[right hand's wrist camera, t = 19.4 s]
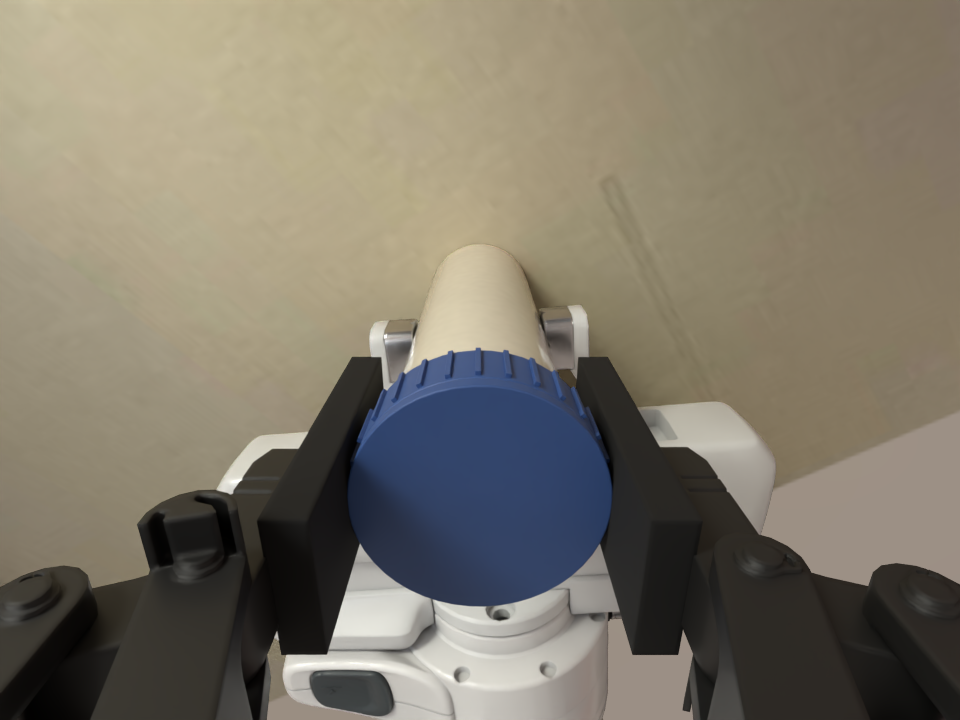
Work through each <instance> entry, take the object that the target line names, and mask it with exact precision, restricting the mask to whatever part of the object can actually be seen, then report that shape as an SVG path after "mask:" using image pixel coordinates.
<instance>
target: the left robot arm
mask: <svg viewBox="0 0 960 720" xmlns="http://www.w3.org/2000/svg"><path fill="white" fill-rule="evenodd" d="M539 318H540V321H541V324H542V327H543V330H544V333H545V336H546V339H547V342H548V345H549V348H550V351H551V354H552V357H553V360H554V363H555V366H556V369H557V370H560V369H570V371H571V372H572V374H573V375H574V377H575V378H576V379H577V367H578V357H589V324H588V318H587V314H586V312H585V310H584V309H583V307H582V305H573V306H560V307H550V308H540V310H539ZM417 326H418V321H417V319H405V320H390V321H389V320H385V321H378V322H375V323H374V325H373V327H372V329H371V330H370V351H371V357H381V358H382V372H383V386H384V389H385V390H388V389H389V388H390V387H391V386H392V385H393V384H394V383H395V382H396V381H397V380H398V377H399V374H400V373H402V371H403V368H404V365H405V362H406V359H407V356H408V353H409V350H410V347H411V344H412V341H413V338H414V335H415V332H416V329H417ZM637 408H638V410H639V412H640V414H641V415H642V417H643V419H644V420H645V422H646V424H647V426H648V427H649V429H650V431H651V432H652V434H653V436H654V438H655V439H656V441H657V443H658V444H659V446H660V447H688V448H690V449H691V450H693V451H694V452H696V453H697V454H698V455H700V456H701V457H703V458H704V459H706V460H707V461H708V463H709V464H710V466H711V467H712V468H713V470H714V471H715V473H716V474H717V475H718V479H720V480H721V481H722V483H723V484H724V485H725V487H726V488H727V492H729V493H730V494H731V495H732V497H733V498H734V500H735V501H736V502H737V504H738V505H739V507H740V508H741V510H742V511H743V512H744V514H745V515H746V517H747V518H748V520H749V521H750V522H751V524H752V525H753V527H754V528H755V529H756V531H757V532H758V534H759V535H761V532H762V529H763V525H764V522H765V518H766V515H767V511H768V507H769V503H770V499H771V495H772V491H773V486H774V482H775V475H776V461H775V458H774V455H773V453H772V451H771V449H770V448H769V446H768V445H767V444H766V442H765V441H764V440H763V438H762V437H761V436H760V435H759V434H758V432H757V431H756V430H755V429H754V428H753V427H752V426H751V425H750V424H749V423H748V422H747V421H746V420H745V419H744V418H743V417H742V416H740V415H739V414H738V413H737V412H736V411H735V410H734V409H732V408H731V407H730V406H729V405H727V404H725V403H723V402H699V403H686V404H673V405H660V406H647V407H637ZM307 433H308V432H300V433H286V434H270V435H263V436H259V437H257V438H255V439H254V440H252V441H251V442H250V443H249V444H248V446H247V447H246V448H245V449H244V450H243V451H242V453H241V454H240V455H239V456H238V457H237V459H236V460H235V461H234V462H233V464H232V465H231V466H230V468H229V469H228V471H227V472H226V474H225V475H224V477H223V479H222V480H221V482H220V484H219V486H218V488H217V491H222V492H226V493H229V494H233V490H234V489H235V487H236V486H237V484H238V483H239V482H240V481H242V477H243V476H244V474H245V473H246V472H247V470H248V469H249V467H250V466H251V464H252V463H253V462H254V461H255V460H257V459H258V458H260V457H261V456H263V455H264V454H265V453H267V452H268V451H270V450H271V449H299V447H300V445H301V444H302V442H303V440H304V439H305V437H306V435H307ZM610 619H622V617H621V614H620V610H619V607H618V604H617V600H616V597H615V593H614V590H613V587H612V583H611V580H610V577H609V573H608V570H607V566H606V563H605V560H604V556H603V553H602V549H601V546H600V544H599V546H598V547H597V549H596V550H595V552H594V553H593V555H592V556H591V557H590V558H589V559H588V561H587V562H586V563H585V564H584V565H583V566H582V567H581V568H580V569H579V570H578V571H577V572H576V573H575V574H573V575H572V576H571V577H570V578H568V579H567V580H565V581H564V582H563V583H561V584H560V585H558V586H556V587H554V588H552V589H551V590H549V591H547V592H545V593H542V594H540V595H538V596H535V597H533V598H530V599H526V600H523V601H520V602H516V603H511V604H505V605H498V606H486V607H479V606H462V605H454V604H449V603H444V602H440V601H436V600H433V599H430V598H427V597H424V596H422V595H420V594H417V593H415V592H413V591H411V590H409V589H407V588H405V587H404V586H402V585H400V584H399V583H397V582H395V581H394V580H393V579H392V578H390V577H389V576H388V575H386V574H385V573H384V572H383V571H382V570H381V569H380V568H379V567H378V566H377V565H376V564H375V563H374V562H373V561H372V560H371V559H370V557H369V556H368V555H367V554H366V552H365V551H364V549H363V548H362V546H361V544H360V545H359V548H358V552H357V555H356V558H355V562H354V565H353V569H352V572H351V575H350V579H349V582H348V586H347V589H346V592H345V596H344V599H343V602H342V606H341V609H340V613H339V616H338V619H337V623H336V626H335V630H334V633H333V636H332V640H331V643H330V646H329V650H328V653H327V655H286V660H285V664H284V669H283V681H284V685H285V688H286V690H287V692H288V694H289V695H290V697H291V698H293V699H294V700H295V701H297V702H299V703H302V704H305V705H309V706H314V707H320V708H326V709H332V710H338V711H343V712H349V713H354V714H359V715H363V716H368V717H372V718H375V719H379V720H603V718H602V717H603V714H604V711H605V705H606V699H607V692H608V621H609V620H610ZM274 638H275V639H277V640H278V641H279V639H278V633H277V632H276V635H275V637H274Z"/></svg>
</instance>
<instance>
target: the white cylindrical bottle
mask: <svg viewBox="0 0 960 720" xmlns="http://www.w3.org/2000/svg"><path fill="white" fill-rule="evenodd" d="M476 348H481V350H487V351H497V352H503V350H508V351H509V354H513V355H517V356H520V357H523V358H526V359H528V360H529V359H530V357H531V358H534V359H535V361H536V363H538V364H539V365H541V366H543V367H545V368H546V369H548V370H550V371H551V372H553V370H555V371H557V369H556V366H555V363H554V360H553V357H552V354H551V351H550V348H549V345H548V342H547V339H546V336H545V333H544V330H543V327H542V324H541V321H540V318H539V315H538V312H537V309H536V306H535V303H534V300H533V297H532V294H531V291H530V288H529V285H528V282H527V279H526V276H525V274H524V271H523V269H522V268H521V266H520V265H519V263H518V262H517V261H516V260H515V259H514V258H513V257H512V256H511V255H510V254H509V253H507V252H506V251H504V250H502V249H500V248H498V247H495V246H491V245H485V244H474V245H469V246H465V247H462V248H460V249H457V250H456V251H454V252H452V253H451V254H450V255H448V256H447V257H446V258H445V259H444V260H443V261H442V263H441V264H440V265H439V267H438V269H437V270H436V273H435V275H434V278H433V281H432V284H431V287H430V290H429V293H428V296H427V299H426V302H425V305H424V308H423V311H422V314H421V317H420V320H419V323H418V326H417V329H416V332H415V335H414V338H413V341H412V344H411V347H410V350H409V353H408V356H407V359H406V362H405V365H404V368H403V371H402V372H404V373H405V374H406V373H407V372H409V371H410V370H412V369H413V368H415V367H417V366H419V365H421V362H422V360H424V359H427V360H428V361H429V360H431V359H434V358H437V357H440V356H442V355H447V354H448V351H451V350H453V352H454V353H456V352H462V351H472V350H476Z"/></svg>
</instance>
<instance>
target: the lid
mask: <svg viewBox="0 0 960 720" xmlns="http://www.w3.org/2000/svg"><path fill="white" fill-rule="evenodd" d="M357 442H358V443H357V445H356V448H355V450H354V453H353V455H352V458H351V460H350V466H351V470H350V474H349V478H348V485H347V499H348V509H349V516H350V521H351V525H352V527H353V530H354V532H355V535H356V537H357V539H358V541H359V543H360V544H361V546H362V548H363V549H364V551H365V552H366V554H367V555H368V556H369V557H370V559H371V560H372V561H373V562H374V563H375V564H376V565H377V566H378V567H379V568H380V569H381V570H382V571H383V572H384V573H385V574H386V575H388V576H389V577H390V578H392V579H393V580H394V581H395V582H397V583H399V584H400V585H402V586H404V587H405V588H407V589H409V590H411V591H413V592H415V593H417V594H420V595H422V596H424V597H427V598H430V599H433V600H436V601H440V602H444V603H449V604H454V605H462V606H479V607H486V606H498V605H505V604H511V603H516V602H520V601H523V600H526V599H530V598H533V597H535V596H538V595H540V594H542V593H545V592H547V591H549V590H551V589H552V588H554V587H556V586H558V585H560V584H561V583H563V582H564V581H565V580H567V579H568V578H570V577H571V576H572V575H573V574H575V573H576V572H577V571H578V570H579V569H580V568H581V567H582V566H583V565H584V564H585V563H586V562H587V561H588V559H589V558H590V557H591V556H592V555H593V553H594V552H595V550H596V549H597V547H598V546H599V544H600V543H601V540H602V538H603V536H604V534H605V532H606V530H607V526H608V523H609V520H610V514H611V505H612V495H613V485H612V480H611V474H610V470H609V467H608V464H607V463H609V462H610V459H609V456H608V454H607V451H606V449H605V446H604V444H603V441H602V438H601V435H600V433H599V430H598V428H597V425H596V423H595V420H594V418H593V416H592V413H591V411H590V409H589V407H586V408H584V406H583V404H582V402H581V400H580V397H579V394H578V392H577V389H576V388H575V387H572V388H570V387H569V386H568V385H567V384H566V383H565V382H564V381H563V380H562V379H561V378H560V377H559V374H558V372H557V371H555V370H553V372H551V371H550V370H548V369H546V368H545V367H543V366H541V365H539V364H538V363H536V361H535V359H534V358H531V357H530V359H529V360H528V359H526V358H523V357H520V356H517V355H513V354H509V351H508V350H503V352H497V351H487V350H481V348H476V350H472V351H462V352H456V353H454V352H453V350H451V351H448V354H447V355H442V356H440V357H437V358H434V359H431V360H429V361H428V360H427V359H424V360H422V362H421V365H419V366H417V367H415V368H413V369H412V370H410V371H409V372H407V373H406V374H405V373H404V372H402V373H400V374H399V377H398V380H397V381H396V382H395V383H394V384H393V385H392V386H391V387H390V388H389V389H388V390H385V389H383V390H382V392H381V394H380V396H379V399H378V402H377V404H376V407H375V409H374V410H372V409H370V410H369V412H368V414H367V417H366V419H365V422H364V424H363V427H362V429H361V432H360V434H359V437H358V439H357Z"/></svg>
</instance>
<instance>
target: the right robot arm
mask: <svg viewBox="0 0 960 720" xmlns="http://www.w3.org/2000/svg"><path fill="white" fill-rule="evenodd" d="M383 389H384V386H383V372H382V358H381V357H352V358H351V360H350V361H349V363H348V365H347V367H346V368H345V370H344V372H343V373H342V375H341V377H340V379H339V380H338V382H337V384H336V385H335V387H334V389H333V391H332V392H331V394H330V396H329V397H328V399H327V401H326V403H325V404H324V406H323V408H322V409H321V411H320V413H319V415H318V416H317V418H316V420H315V421H314V423H313V425H312V427H311V428H310V430H309V432H308V433H307V435H306V437H305V439H304V440H303V442H302V444H301V445H300V447H299V449H271V450H270V451H268V452H267V453H265V454H264V455H263V456H261V457H260V458H258V459H257V460H255V461H254V462H253V463H252V464H251V466H250V467H249V469H248V470H247V472H246V473H245V474H244V476H243V477H242V481H240V482H239V483H238V484H237V486H236V487H235V489H234V490H233V494H229V493H226V492H222V491H217V490H197V491H193V492H189V493H185V494H180V495H177V496H175V497H173V498H170V499H168V500H166V501H164V502H161V503H160V504H158V505H157V506H155V507H154V508H153V509H151V510H150V511H148V512H147V513H146V514H145V515H144V516H143V518H142V519H141V520H140V521H139V523H138V524H137V526H138V529H139V533H140V536H141V540H142V543H143V547H144V550H145V554H146V557H147V561H148V564H149V568H150V572H149V575H147V576H143V577H140V578H136V579H133V580H128V581H124V582H119V583H115V584H110V585H106V586H101V587H97V588H92V587H91V584H90V581H89V578H88V575H87V574H86V573H85V572H83V571H82V570H81V569H80V568H76V567H70V566H58V567H51V568H44V569H41V570H38V571H34V572H31V573H28V574H26V575H23V576H21V577H19V578H17V579H15V580H13V581H11V582H9V583H7V584H6V585H4V586H2V587H0V720H267V711H268V701H269V691H270V681H271V675H270V668H269V663H268V658H267V654H268V652H269V649H270V647H271V644H272V642H273V639H274V637H275V635H276V632H277V633H278V639H279V644H280V649H281V655H327V653H328V650H329V646H330V643H331V640H332V636H333V633H334V630H335V626H336V623H337V619H338V616H339V613H340V609H341V606H342V602H343V599H344V596H345V592H346V589H347V586H348V582H349V579H350V575H351V572H352V569H353V565H354V562H355V558H356V555H357V552H358V548H359V545H360V543H359V541H358V539H357V537H356V535H355V532H354V530H353V527H352V525H351V521H350V516H349V509H348V499H347V485H348V478H349V474H350V470H351V466H350V460H351V458H352V455H353V453H354V450H355V448H356V445H357V443H358V442H357V439H358V437H359V434H360V432H361V429H362V427H363V424H364V422H365V419H366V417H367V414H368V412H369V410H370V409H372V410H374V409H375V407H376V404H377V402H378V399H379V396H380V394H381V392H382V390H383ZM576 389H577V392H578V394H579V397H580V400H581V402H582V404H583V406H584V408H586V407H589V409H590V411H591V413H592V416H593V418H594V420H595V423H596V425H597V428H598V430H599V433H600V435H601V438H602V441H603V444H604V446H605V449H606V451H607V454H608V456H609V459H610V462H609V463H607V464H608V467H609V470H610V474H611V480H612V485H613V495H612V505H611V514H610V520H609V523H608V526H607V530H606V532H605V534H604V536H603V538H602V540H601V543H600V546H601V549H602V553H603V556H604V560H605V563H606V566H607V570H608V573H609V577H610V580H611V583H612V587H613V590H614V593H615V597H616V600H617V604H618V607H619V610H620V614H621V617H622V621H623V624H624V627H625V631H626V634H627V637H628V641H629V644H630V648H631V651H632V654H633V655H678V653H679V648H680V642H681V637H682V631H683V630H684V633H685V635H686V637H687V640H688V642H689V645H690V647H691V650H692V652H693V658H692V663H691V668H690V673H689V678H688V683H687V688H686V693H685V698H684V704H683V710H684V711H688V712H690V709H691V704H692V710H693V720H960V584H958V583H956V582H954V581H952V580H950V579H948V578H946V577H944V576H942V575H941V574H939V573H936V572H933V571H931V570H927V569H924V568H921V567H918V566H913V565H905V564H898V563H895V564H888V565H882V566H880V567H879V568H878V569H877V570H875V571H874V572H873V574H872V577H871V580H870V583H869V586H865V585H860V584H855V583H851V582H847V581H842V580H838V579H833V578H829V577H825V576H821V575H818V574H814V573H811V571H810V569H809V568H808V566H807V565H806V563H805V562H804V560H803V559H802V557H801V556H799V555H798V554H797V553H796V552H794V551H793V550H792V549H791V548H789V547H788V546H786V545H784V544H782V543H780V542H778V541H776V540H774V539H772V538H769V537H766V536H762V535H759V534H758V532H757V531H756V529H755V528H754V527H753V525H752V524H751V522H750V521H749V520H748V518H747V517H746V515H745V514H744V512H743V511H742V510H741V508H740V507H739V505H738V504H737V502H736V501H735V500H734V498H733V497H732V495H731V494H730V493H729V492H727V488H726V487H725V485H724V484H723V483H722V481H721V480H720V479H718V475H717V474H716V473H715V471H714V470H713V468H712V467H711V466H710V464H709V463H708V461H707V460H706V459H704V458H703V457H701V456H700V455H698V454H697V453H696V452H694V451H693V450H691V449H690V448H688V447H660V446H659V444H658V443H657V441H656V439H655V438H654V436H653V434H652V432H651V431H650V429H649V427H648V426H647V424H646V422H645V420H644V419H643V417H642V415H641V414H640V412H639V410H638V408H637V407H636V405H635V403H634V402H633V400H632V398H631V396H630V395H629V393H628V391H627V390H626V388H625V386H624V384H623V383H622V381H621V379H620V378H619V376H618V374H617V372H616V371H615V369H614V367H613V365H612V364H611V362H610V360H609V359H608V357H578V367H577V381H576Z"/></svg>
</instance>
